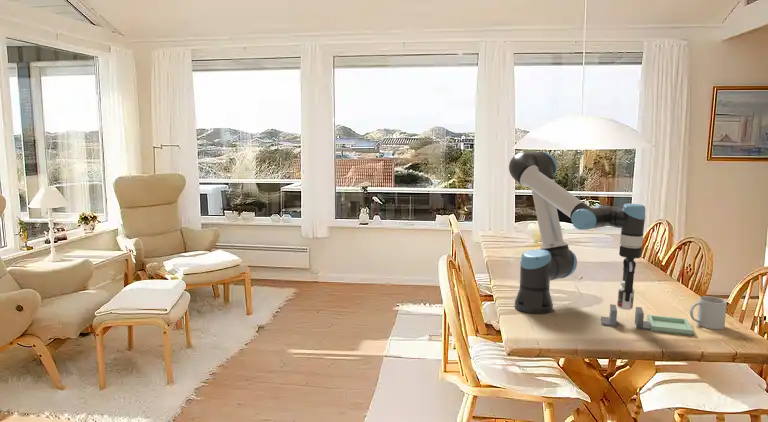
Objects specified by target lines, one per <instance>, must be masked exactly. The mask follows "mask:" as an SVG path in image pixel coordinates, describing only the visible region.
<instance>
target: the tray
mask: <svg viewBox="0 0 768 422" xmlns="http://www.w3.org/2000/svg"><path fill="white" fill-rule="evenodd" d="M646 316H647V318H646V321H648V322H649V324H650V326H651V332H656V333H663V334H672V335H673V334H674V335H682V336H688V337H689V336H691V337H694V329H693V327H692V326H691V324H690V322H689V320H688V318H683V317H676V316H675V317H674V316H673V317H672V316H664V315H655V314H647V315H646Z"/></svg>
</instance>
